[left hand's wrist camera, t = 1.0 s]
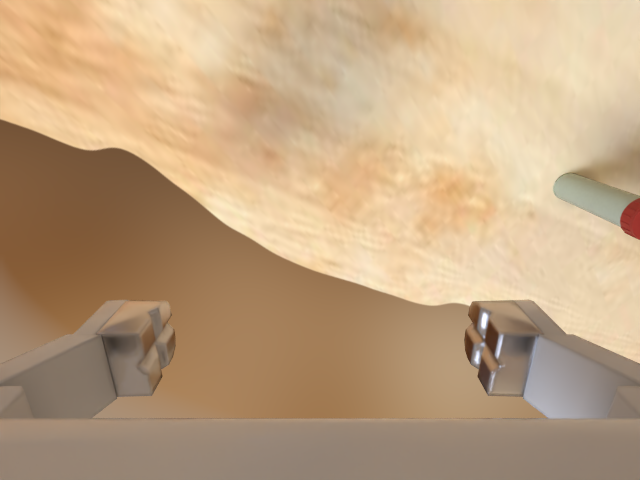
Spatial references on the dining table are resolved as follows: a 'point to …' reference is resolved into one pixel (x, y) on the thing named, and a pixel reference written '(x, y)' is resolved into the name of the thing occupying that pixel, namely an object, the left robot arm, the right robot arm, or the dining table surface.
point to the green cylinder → (593, 196)
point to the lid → (631, 219)
